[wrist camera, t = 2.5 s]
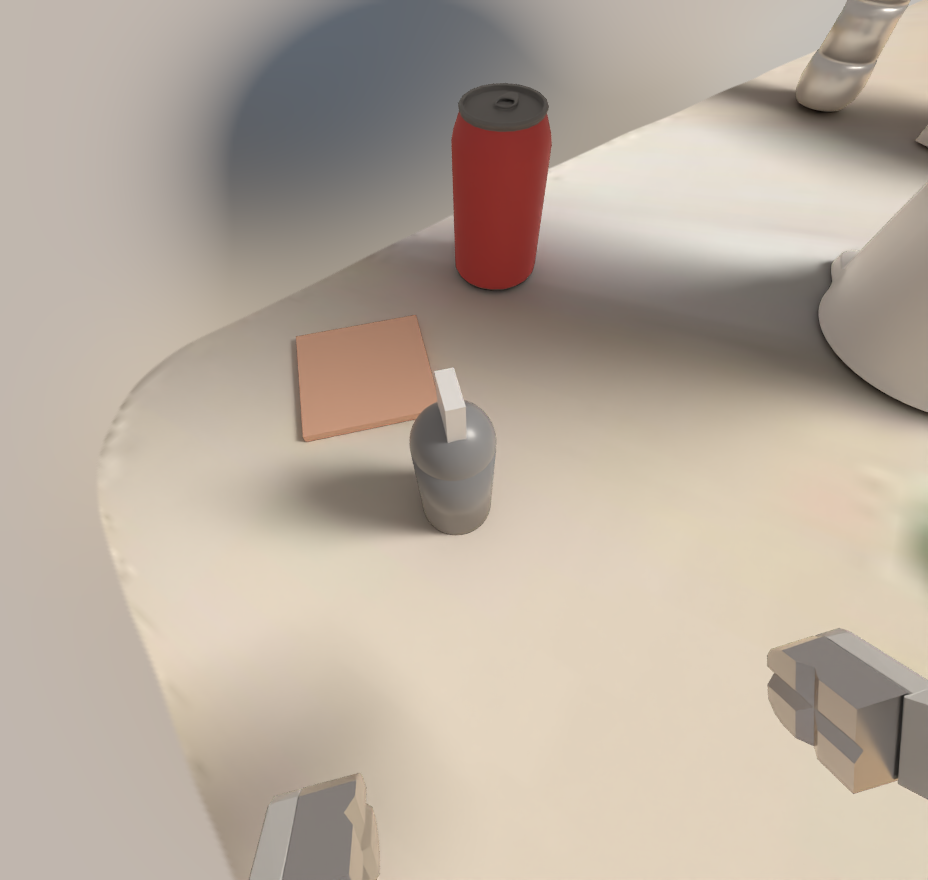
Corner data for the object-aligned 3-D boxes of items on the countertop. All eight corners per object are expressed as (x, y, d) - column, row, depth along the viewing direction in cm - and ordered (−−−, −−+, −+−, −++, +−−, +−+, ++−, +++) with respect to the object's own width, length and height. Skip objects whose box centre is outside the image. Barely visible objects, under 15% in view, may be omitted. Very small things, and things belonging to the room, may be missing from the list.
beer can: (544, 254, 39) (571, 89, 28) (516, 303, 36) (536, 137, 25) (474, 236, 40) (475, 72, 30) (442, 281, 37) (431, 116, 27)
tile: (416, 320, 35) (415, 314, 34) (441, 413, 30) (441, 408, 30) (298, 342, 34) (295, 336, 33) (305, 442, 29) (302, 437, 29)
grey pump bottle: (480, 466, 28) (485, 341, 19) (498, 525, 26) (514, 419, 17) (417, 480, 28) (390, 360, 18) (430, 542, 26) (407, 442, 16)
